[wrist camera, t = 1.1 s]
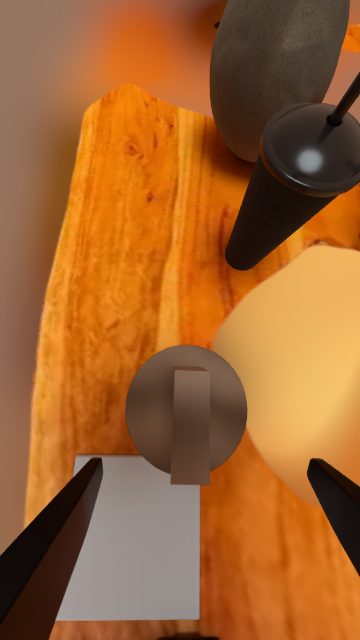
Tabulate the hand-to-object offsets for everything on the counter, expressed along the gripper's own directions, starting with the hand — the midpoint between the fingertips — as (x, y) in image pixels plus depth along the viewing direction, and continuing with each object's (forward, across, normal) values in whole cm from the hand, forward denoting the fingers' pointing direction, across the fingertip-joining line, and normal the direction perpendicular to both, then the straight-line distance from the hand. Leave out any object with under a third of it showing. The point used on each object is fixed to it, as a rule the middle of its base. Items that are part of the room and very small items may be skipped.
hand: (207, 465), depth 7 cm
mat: (+8, +5, +18) cm, 21 cm away
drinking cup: (+21, -8, -12) cm, 25 cm away
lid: (+8, 0, +4) cm, 9 cm away
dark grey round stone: (+28, -9, -29) cm, 42 cm away
